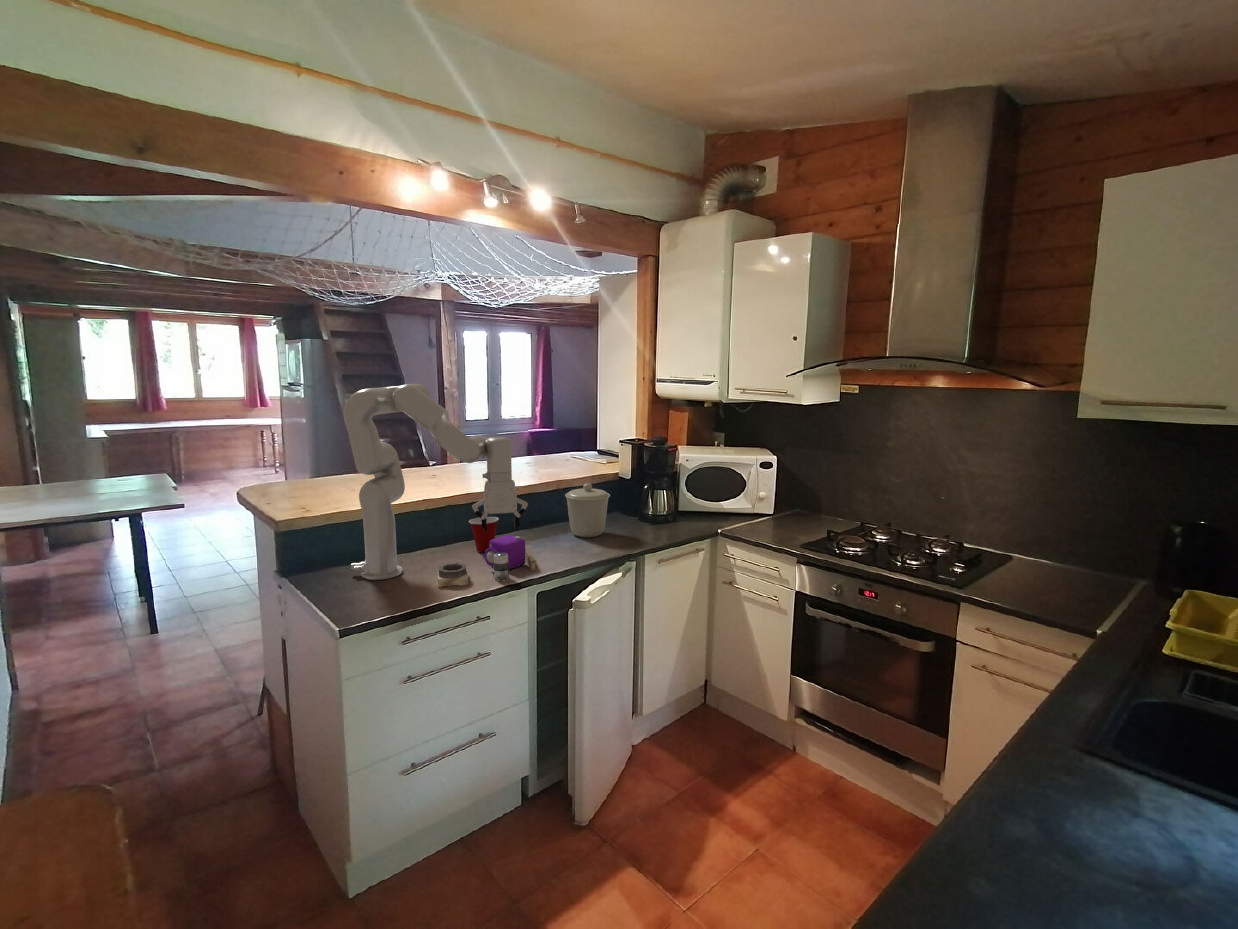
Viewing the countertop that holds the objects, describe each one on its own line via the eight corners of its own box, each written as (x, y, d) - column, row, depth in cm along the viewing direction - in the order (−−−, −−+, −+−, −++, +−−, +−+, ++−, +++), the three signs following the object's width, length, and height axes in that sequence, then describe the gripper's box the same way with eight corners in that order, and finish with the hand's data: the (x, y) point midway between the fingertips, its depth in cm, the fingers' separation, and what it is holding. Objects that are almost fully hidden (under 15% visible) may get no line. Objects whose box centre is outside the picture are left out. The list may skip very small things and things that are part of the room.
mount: (438, 587, 187) (437, 573, 186) (438, 577, 195) (437, 564, 195) (468, 584, 189) (467, 570, 189) (466, 575, 198) (466, 561, 197)
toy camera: (479, 570, 203) (478, 541, 201) (503, 558, 215) (502, 531, 214) (505, 575, 199) (505, 545, 197) (529, 563, 211) (528, 535, 209)
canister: (596, 526, 260) (596, 478, 257) (617, 536, 245) (618, 485, 241) (557, 531, 251) (557, 481, 247) (577, 542, 236) (578, 489, 232)
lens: (494, 581, 192) (493, 557, 191) (493, 576, 197) (492, 552, 196) (509, 580, 194) (509, 556, 192) (508, 575, 198) (507, 551, 197)
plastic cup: (484, 544, 232) (483, 513, 230) (505, 549, 226) (505, 517, 224) (463, 551, 223) (462, 519, 221) (484, 556, 217) (483, 524, 215)
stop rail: (530, 570, 203) (530, 560, 203) (525, 557, 217) (524, 548, 216) (535, 570, 204) (535, 560, 203) (529, 557, 217) (529, 548, 216)
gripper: (471, 480, 184) (473, 534, 187) (528, 477, 189) (529, 531, 191) (470, 475, 191) (472, 528, 194) (525, 473, 196) (526, 525, 199)
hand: (500, 529), depth 193 cm, fingers open, 9 cm apart
